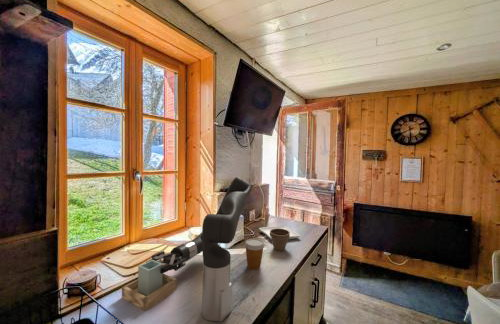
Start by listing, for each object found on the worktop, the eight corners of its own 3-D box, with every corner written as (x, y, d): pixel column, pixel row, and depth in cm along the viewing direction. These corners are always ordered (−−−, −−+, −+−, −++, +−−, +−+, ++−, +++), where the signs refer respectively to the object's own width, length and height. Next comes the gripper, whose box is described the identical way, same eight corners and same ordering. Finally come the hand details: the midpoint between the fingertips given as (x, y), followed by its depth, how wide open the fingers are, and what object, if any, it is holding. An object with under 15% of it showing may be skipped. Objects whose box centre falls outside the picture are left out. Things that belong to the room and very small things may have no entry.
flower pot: (280, 255, 120) (280, 236, 120) (265, 248, 129) (265, 230, 129) (293, 249, 128) (293, 232, 128) (278, 243, 137) (279, 227, 136)
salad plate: (284, 229, 164) (284, 224, 163) (301, 240, 144) (301, 235, 144) (258, 232, 156) (258, 227, 156) (271, 243, 136) (271, 238, 136)
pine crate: (176, 289, 87) (177, 279, 87) (145, 310, 75) (145, 299, 75) (154, 279, 94) (154, 270, 93) (121, 297, 81) (122, 287, 81)
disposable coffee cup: (253, 260, 114) (254, 236, 113) (267, 267, 107) (268, 242, 107) (239, 266, 107) (240, 241, 107) (253, 274, 100) (254, 247, 100)
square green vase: (162, 289, 86) (162, 263, 85) (148, 297, 80) (148, 270, 80) (151, 284, 88) (152, 259, 88) (137, 292, 83) (138, 266, 83)
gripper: (173, 240, 103) (141, 254, 88) (196, 247, 96) (166, 263, 82) (172, 256, 103) (141, 272, 88) (196, 264, 96) (166, 283, 82)
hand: (153, 268), depth 85 cm, fingers open, 8 cm apart
